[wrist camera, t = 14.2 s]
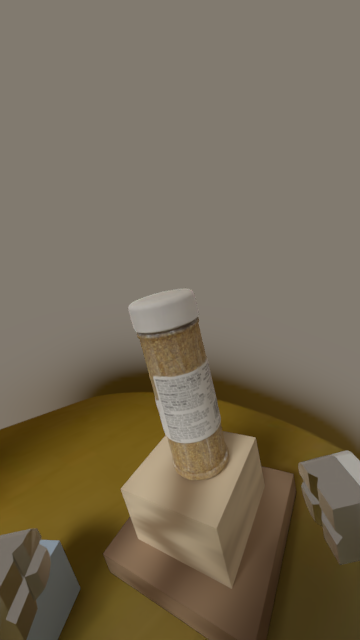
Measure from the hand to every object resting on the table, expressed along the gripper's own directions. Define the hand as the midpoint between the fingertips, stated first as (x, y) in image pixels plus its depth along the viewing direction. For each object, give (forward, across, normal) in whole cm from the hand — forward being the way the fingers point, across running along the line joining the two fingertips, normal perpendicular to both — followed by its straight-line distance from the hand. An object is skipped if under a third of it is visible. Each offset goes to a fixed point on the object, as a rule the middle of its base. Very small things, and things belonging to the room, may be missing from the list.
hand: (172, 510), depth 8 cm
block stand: (+11, 0, +15) cm, 19 cm away
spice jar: (+11, -1, +9) cm, 14 cm away
